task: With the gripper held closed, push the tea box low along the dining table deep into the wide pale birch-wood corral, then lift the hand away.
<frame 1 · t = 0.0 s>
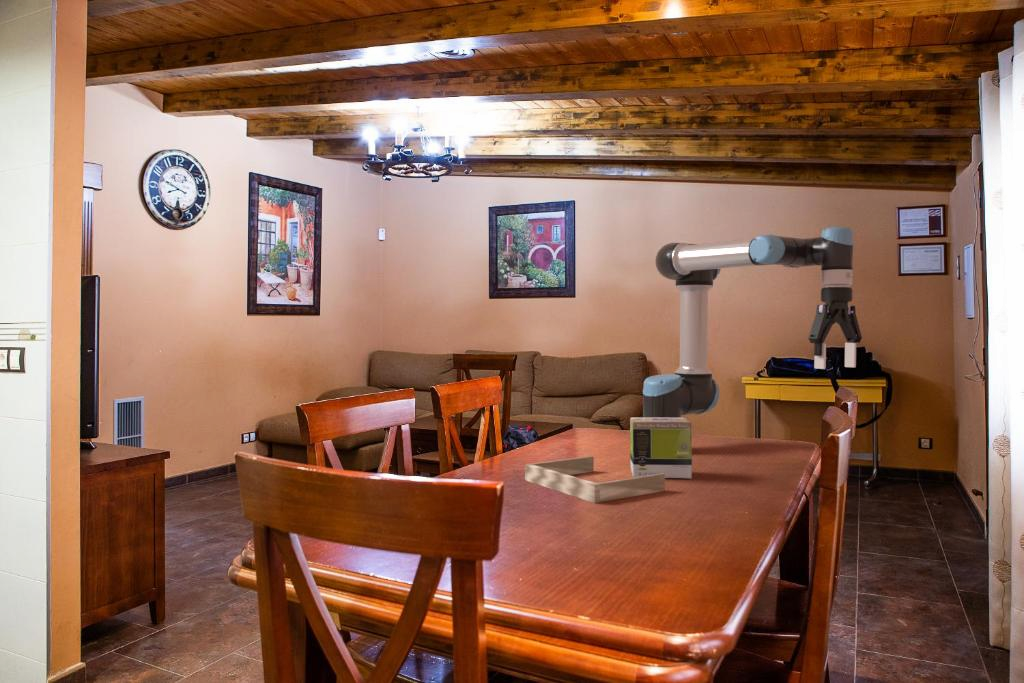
hand: (835, 368, 188), 28 cm above the table, fingers open, 13 cm apart
tea box: (659, 475, 187), on the table
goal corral: (595, 485, 175), on the table
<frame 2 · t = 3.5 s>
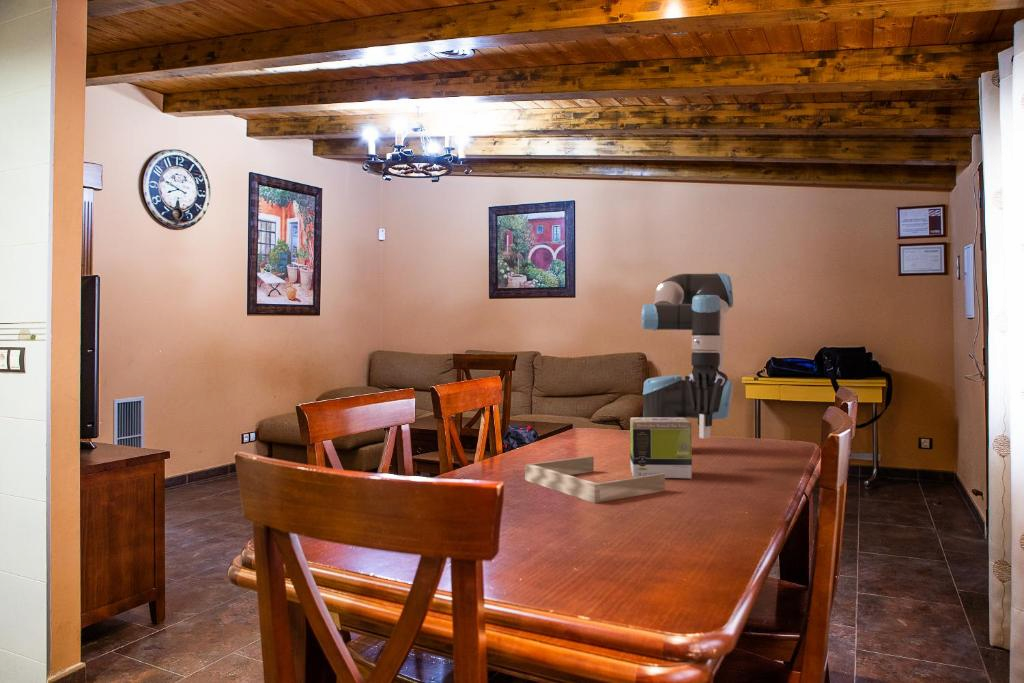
hand: (704, 437, 196), 8 cm above the table, fingers closed
nothing on the table moved.
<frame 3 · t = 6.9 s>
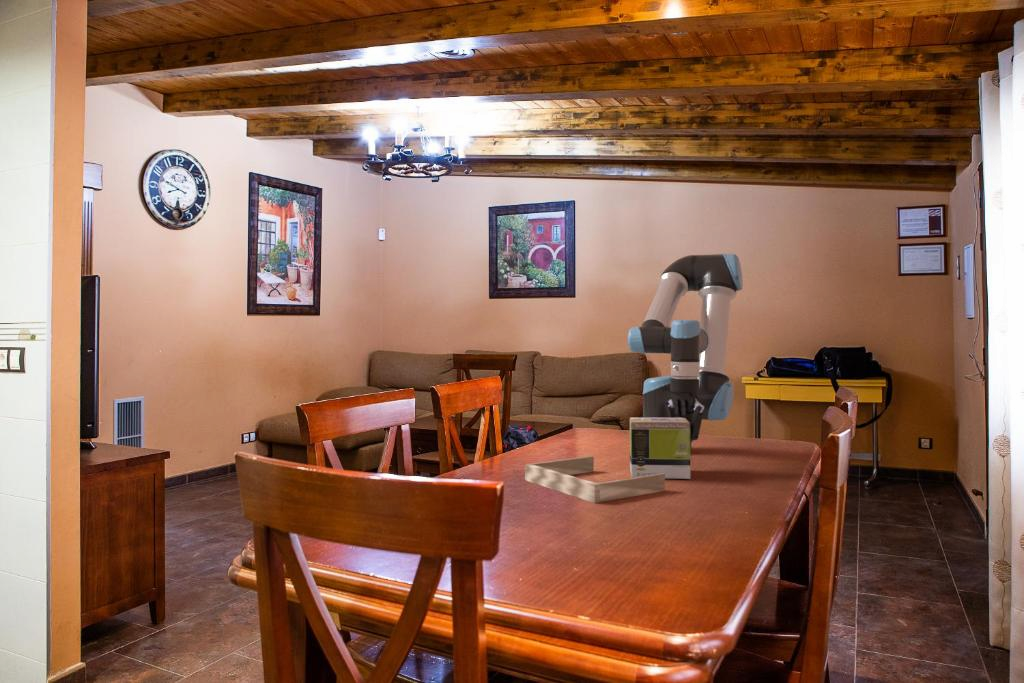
hand: (683, 465, 192), 2 cm above the table, fingers closed
nothing on the table moved.
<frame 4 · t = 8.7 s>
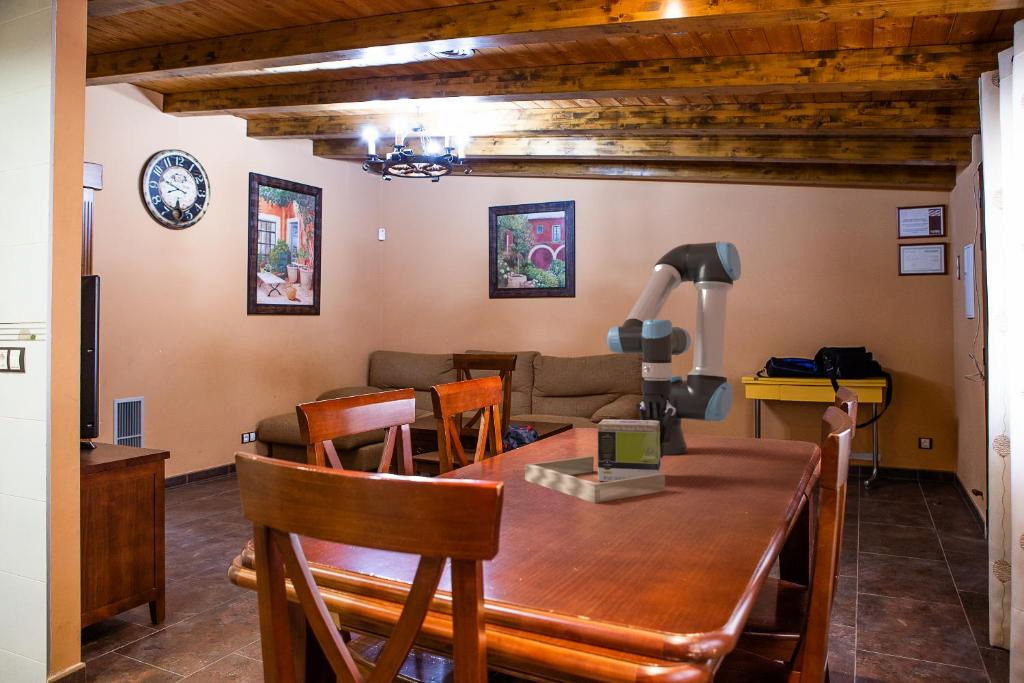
hand: (655, 469, 186), 2 cm above the table, fingers closed
tea box: (629, 480, 181), on the table
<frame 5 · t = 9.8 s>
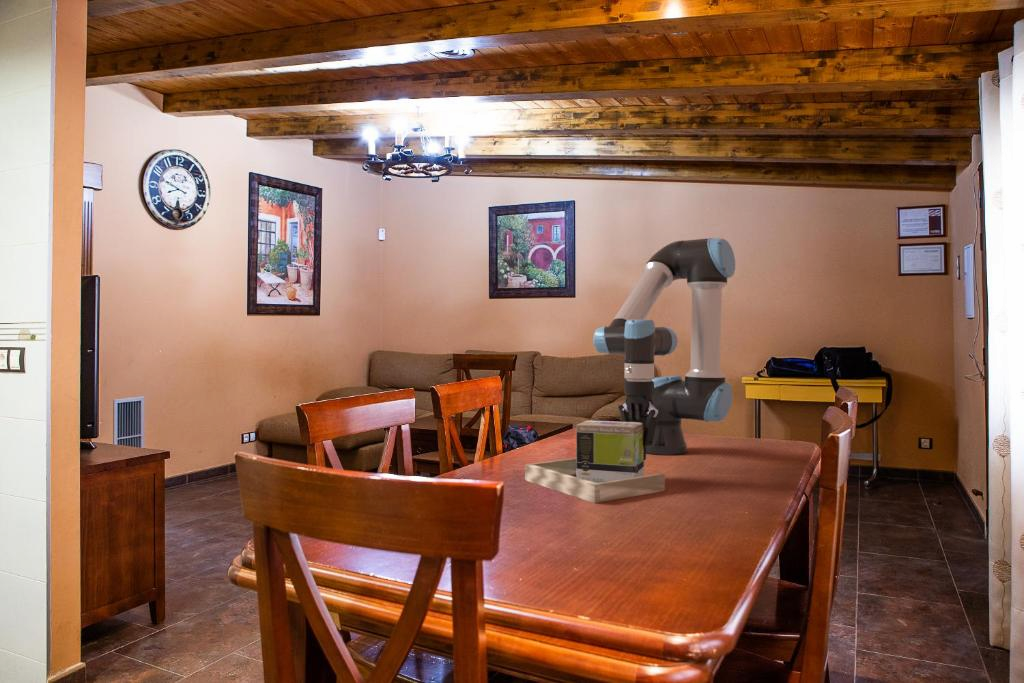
hand: (638, 472, 182), 2 cm above the table, fingers closed
tea box: (610, 482, 178), on the table, touching gripper, hand
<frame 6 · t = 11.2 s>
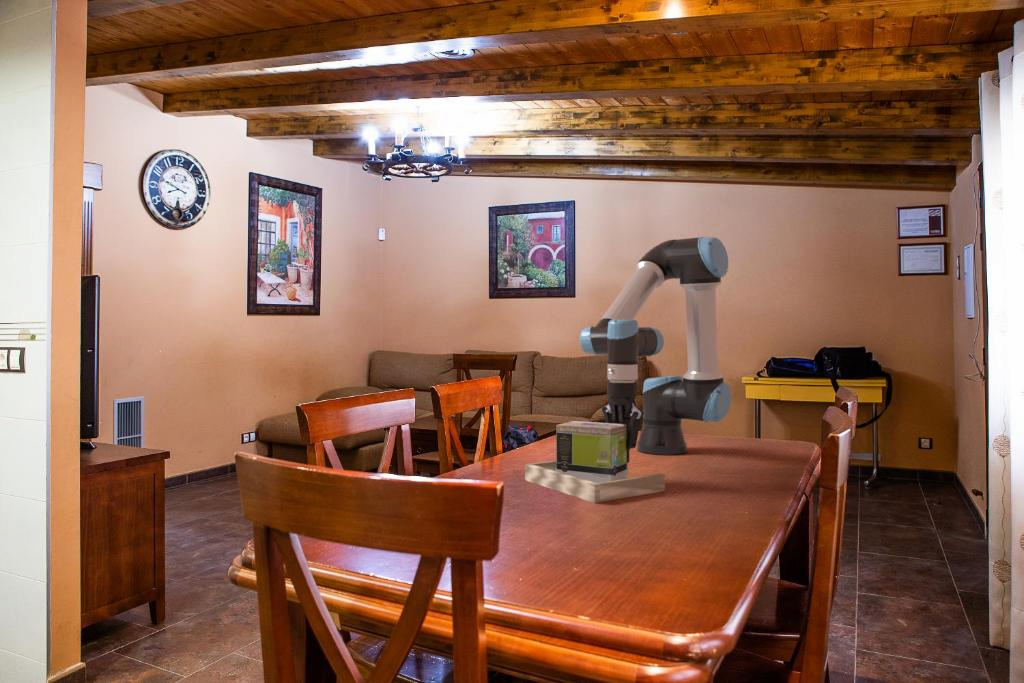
hand: (621, 475, 179), 1 cm above the table, fingers closed
tea box: (591, 484, 176), on the table, touching gripper, hand
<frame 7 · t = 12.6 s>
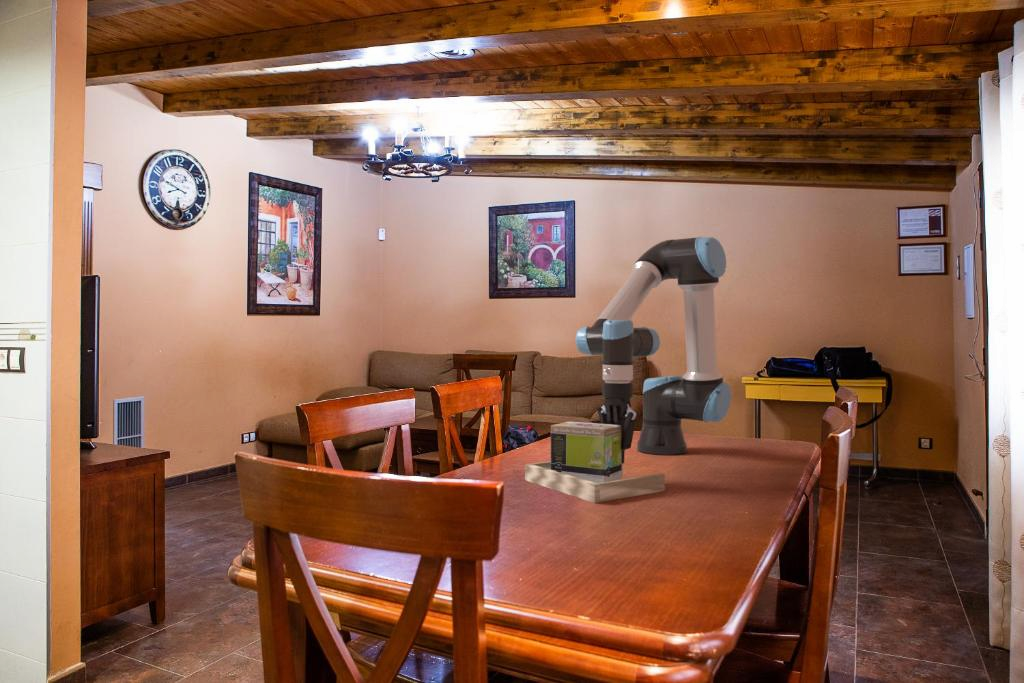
hand: (616, 475, 178), 1 cm above the table, fingers closed
tea box: (585, 484, 176), on the table
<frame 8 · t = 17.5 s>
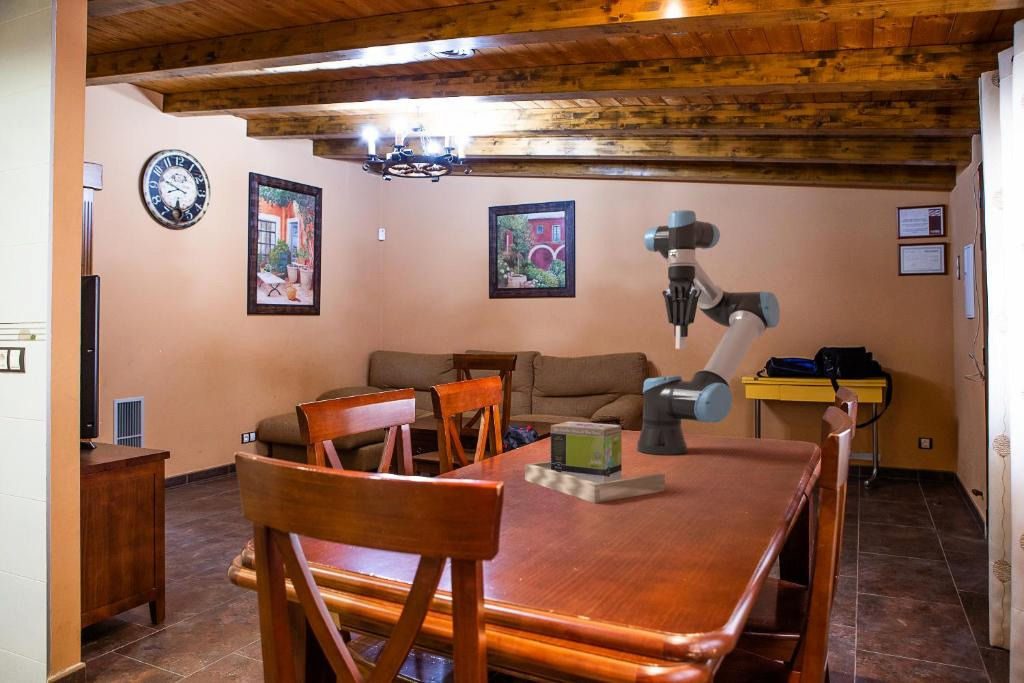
hand: (680, 348, 204), 32 cm above the table, fingers closed
nothing on the table moved.
at the end: tea box 2.5 cm from the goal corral (horizontally); tea box tilted 0° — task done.
